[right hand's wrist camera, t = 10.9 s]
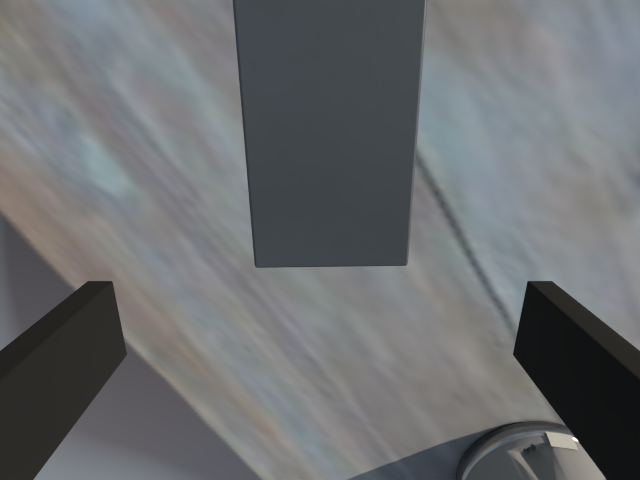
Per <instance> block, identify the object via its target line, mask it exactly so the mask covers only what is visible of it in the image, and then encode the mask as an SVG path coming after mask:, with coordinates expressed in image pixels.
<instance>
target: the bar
mask: <svg viewBox="0 0 640 480" xmlns="http://www.w3.org/2000/svg"><path fill="white" fill-rule="evenodd" d="M426 9H427V0H233V10H234V22H235V34H236V46H237V58H238V70H239V82H240V94H241V106H242V118H243V130H244V142H245V154H246V166H247V178H248V190H249V202H250V214H251V226H252V238H253V250H254V262H255V266H256V267H257V268H263V267H337V266H405V265H407V263H408V253H409V239H410V226H411V212H412V199H413V185H414V172H415V158H416V145H417V131H418V118H419V104H420V90H421V77H422V63H423V50H424V36H425V23H426Z"/></svg>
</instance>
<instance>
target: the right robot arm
mask: <svg viewBox="0 0 640 480" xmlns="http://www.w3.org/2000/svg"><path fill="white" fill-rule="evenodd" d="M126 355H127V352H126V347H125V342H124V337H123V332H122V327H121V322H120V317H119V312H118V307H117V302H116V297H115V292H114V287H113V282H112V281H88V282H86V283H85V284H84V285H83V286H81V287H80V288H79V289H78V290H76V291H75V292H74V293H73V294H71V295H70V296H69V297H68V298H66V299H65V300H64V301H63V302H61V303H60V304H59V305H58V306H56V307H55V308H54V309H53V310H51V311H50V312H49V313H47V314H46V315H45V316H44V317H43V318H41V319H40V320H39V321H37V322H36V323H35V324H34V325H32V326H31V327H30V328H29V329H27V330H26V331H25V332H24V333H22V334H21V335H20V336H19V337H17V338H16V339H15V340H14V341H12V342H11V343H10V344H9V345H7V346H6V347H5V348H3V349H2V350H1V351H0V480H33V479H34V478H35V477H36V475H37V474H38V473H39V471H40V470H41V469H42V467H43V466H44V465H45V463H46V462H47V461H48V459H49V458H50V457H51V455H52V454H53V453H54V451H55V450H56V449H57V447H58V446H59V444H60V443H61V442H62V441H63V439H64V438H65V437H66V435H67V434H68V433H69V431H70V430H71V428H72V427H73V426H74V425H75V423H76V422H77V421H78V419H79V418H80V417H81V415H82V414H83V413H84V411H85V410H86V409H87V407H88V406H89V404H90V403H91V402H92V401H93V399H94V398H95V396H96V395H97V394H98V392H99V391H100V390H101V388H102V387H103V386H104V385H105V383H106V382H107V380H108V379H109V378H110V377H111V375H112V374H113V372H114V371H115V370H116V368H117V367H118V366H119V364H120V363H121V362H122V360H123V359H124V358H125V356H126ZM513 355H514V356H515V358H516V359H517V360H518V362H519V363H520V364H521V366H522V367H523V368H524V370H525V371H526V372H527V374H528V375H529V377H530V378H531V379H532V381H533V382H534V383H535V385H536V386H537V387H538V389H539V390H540V391H541V393H542V394H543V395H544V397H545V398H546V399H547V401H548V402H549V403H550V405H551V406H552V407H553V409H554V410H555V411H556V413H557V414H558V415H559V417H560V418H561V419H562V421H563V422H564V423H565V425H566V426H567V427H566V426H563V425H560V424H556V423H552V422H543V421H530V422H522V423H516V424H512V425H508V426H505V427H502V428H500V429H497V430H495V431H493V432H491V433H489V434H488V435H486V436H484V437H483V438H481V439H480V440H479V441H477V442H476V443H475V444H474V445H473V446H472V447H471V448H470V449H469V450H468V451H467V452H466V453H465V455H464V456H463V458H462V460H461V461H460V464H459V466H458V470H457V475H456V480H605V478H606V479H607V480H640V351H639V350H638V349H637V348H635V347H634V346H633V345H632V344H630V343H629V342H628V341H627V340H625V339H624V338H623V337H621V336H620V335H619V334H618V333H616V332H615V331H614V330H613V329H611V328H610V327H609V326H608V325H606V324H605V323H604V322H603V321H601V320H600V319H599V318H598V317H596V316H595V315H594V314H593V313H591V312H590V311H589V310H588V309H586V308H585V307H584V306H582V305H581V304H580V303H579V302H577V301H576V300H575V299H574V298H572V297H571V296H570V295H569V294H567V293H566V292H565V291H564V290H562V289H561V288H560V287H559V286H557V285H556V284H555V283H554V282H552V281H528V282H527V287H526V292H525V297H524V302H523V307H522V312H521V317H520V322H519V327H518V332H517V337H516V342H515V347H514V352H513Z"/></svg>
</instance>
